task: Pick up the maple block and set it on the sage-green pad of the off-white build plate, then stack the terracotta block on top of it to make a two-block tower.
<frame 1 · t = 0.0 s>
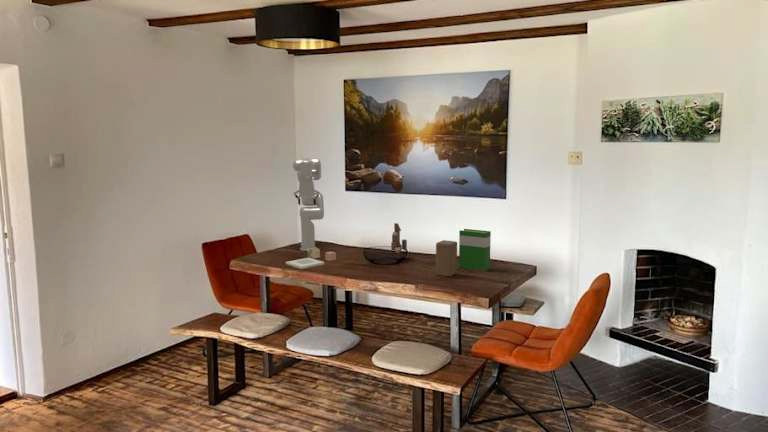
hand: (307, 204, 375), 37 cm above the table, tool pointing down, fingers open, 9 cm apart
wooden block: (446, 274, 338), on the table
terracotta block: (330, 259, 379), on the table
build plate: (305, 264, 366), on the table
wooden toy: (398, 260, 377), on the table
green cereal box: (474, 268, 352), on the table
maple block: (313, 257, 387), on the table
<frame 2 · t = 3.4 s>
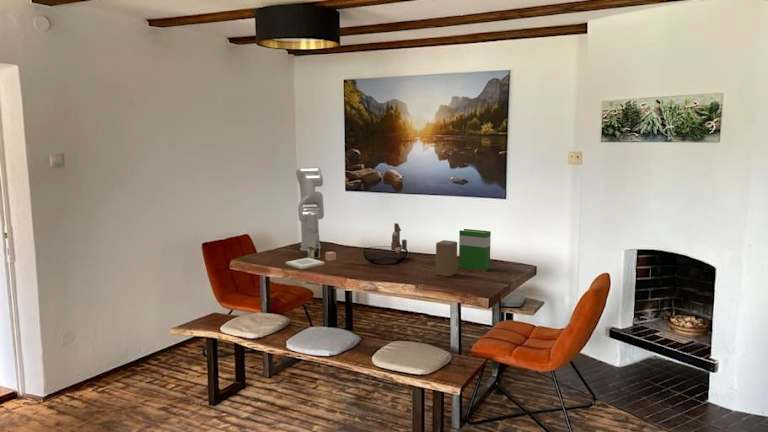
hand: (313, 256, 386), 1 cm above the table, tool pointing down, fingers closed on maple block, 6 cm apart
maple block: (313, 257, 387), on the table, touching gripper
everything else where it was.
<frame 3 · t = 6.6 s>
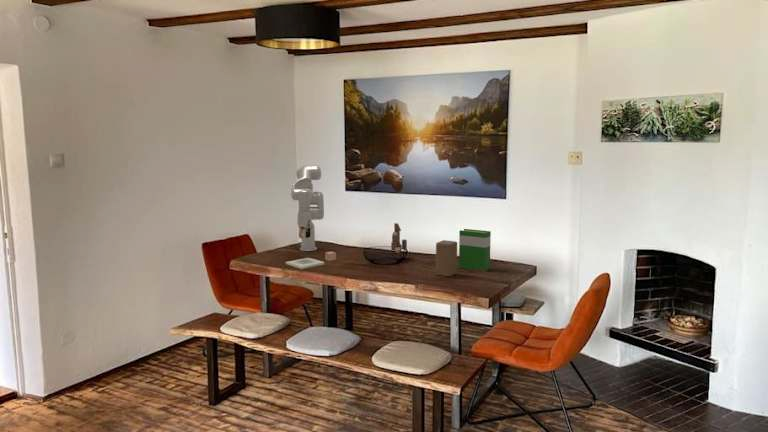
hand: (305, 236, 365), 18 cm above the table, tool pointing down, fingers closed on maple block, 6 cm apart
maple block: (305, 237, 366), point 17 cm above the table, touching gripper
everything else where it was.
when the fingers open (3 cm above the table, at t = 10.0 s): maple block stays where it is, resting on build plate.
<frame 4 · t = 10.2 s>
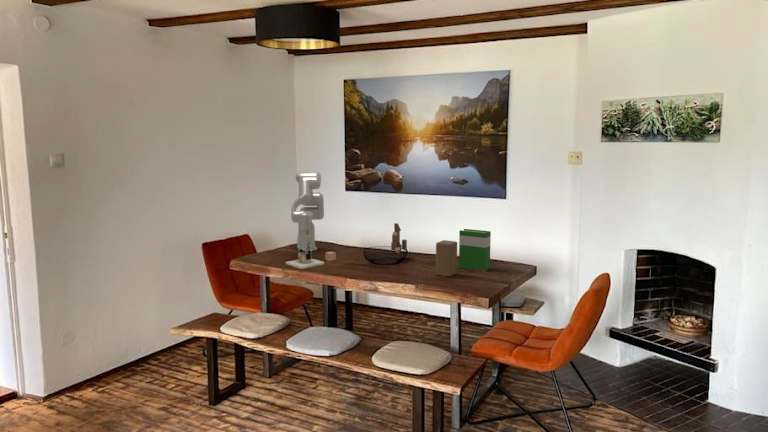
hand: (304, 258, 366), 4 cm above the table, tool pointing down, fingers open, 8 cm apart
maple block: (305, 261, 366), point 2 cm above the table, touching build plate
everything else where it was.
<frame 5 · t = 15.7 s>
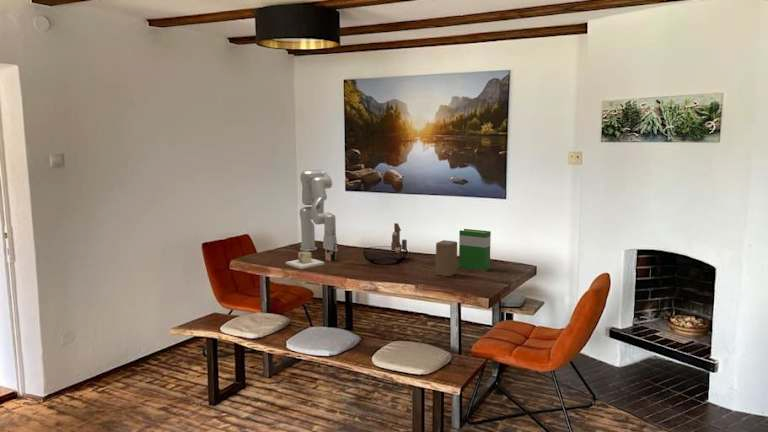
hand: (330, 259, 379), 0 cm above the table, tool pointing down, fingers closed on terracotta block, 5 cm apart
terracotta block: (330, 259, 379), on the table, touching gripper
everything else where it was.
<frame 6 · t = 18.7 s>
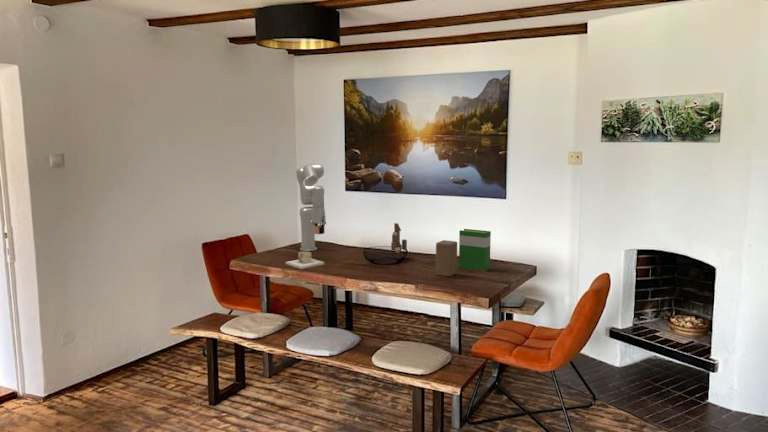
hand: (319, 232, 370), 20 cm above the table, tool pointing down, fingers closed on terracotta block, 5 cm apart
terracotta block: (319, 233, 371), point 19 cm above the table, touching gripper
everything else where it was.
when the fingers open (9 cm above the table, at t = 21.7 s): terracotta block stays where it is, resting on maple block.
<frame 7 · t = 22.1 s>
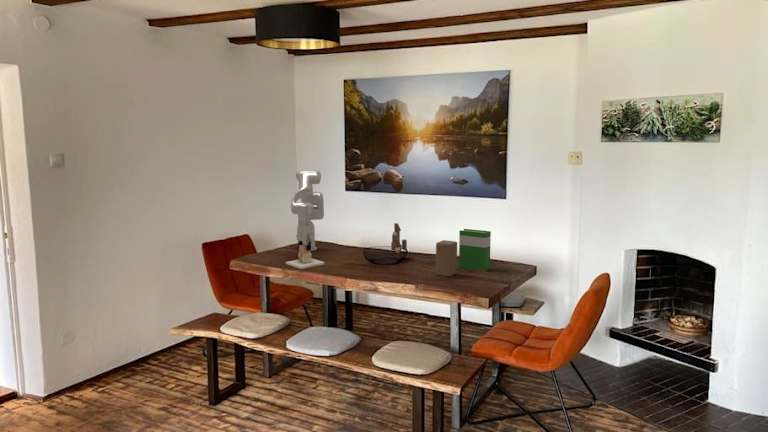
hand: (304, 249, 365), 10 cm above the table, tool pointing down, fingers open, 8 cm apart
terracotta block: (304, 252, 365), point 8 cm above the table, touching maple block
maple block: (305, 261, 366), point 2 cm above the table, touching build plate, terracotta block
everything else where it was.
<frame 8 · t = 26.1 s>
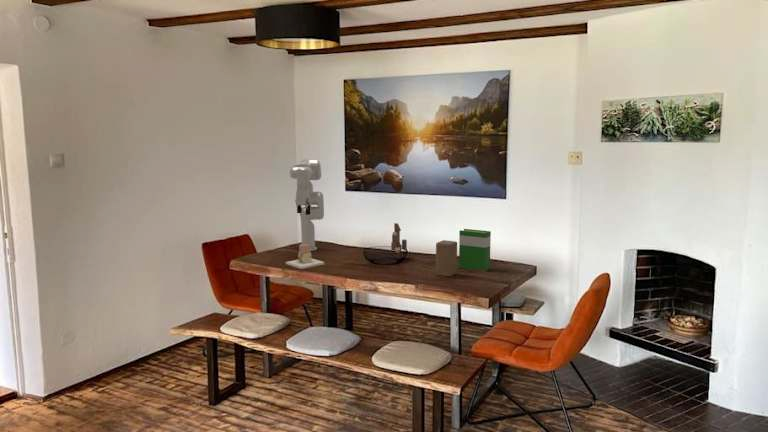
hand: (303, 213, 361), 33 cm above the table, tool pointing down, fingers open, 9 cm apart
nothing on the table moved.
at the end: maple block 0.1 cm off-centre on the build plate, point 1.7 cm above the build plate's base; terracotta block 0.1 cm off-centre on the maple block, point 6.0 cm above the maple block's base; terracotta block tilted 0° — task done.
